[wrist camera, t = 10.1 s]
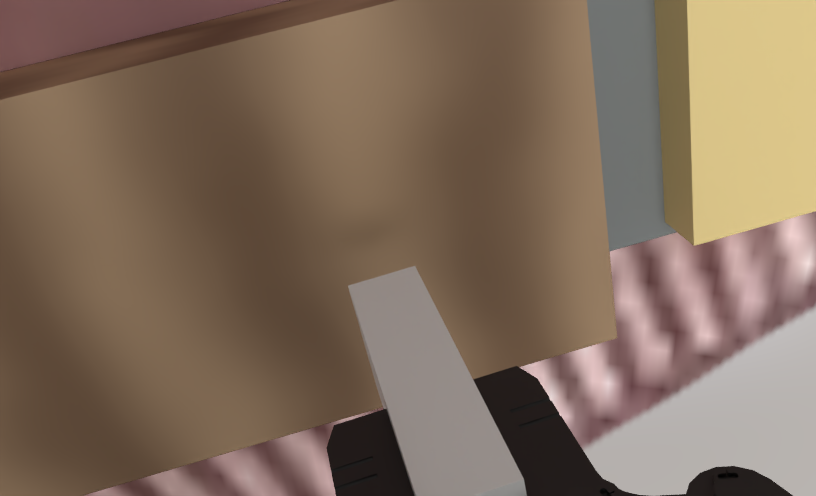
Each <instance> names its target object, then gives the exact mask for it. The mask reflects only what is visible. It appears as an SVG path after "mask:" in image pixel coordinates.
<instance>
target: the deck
mask: <svg viewBox="0 0 816 496" xmlns="http://www.w3.org/2000/svg"><path fill="white" fill-rule="evenodd" d="M413 266H415V267H416V269H417V271H418V273H419V275H420V277H421V279H422V281H423V282H424V284H425V286H426V288H427V290H428V292H429V294H430V296H431V298H432V300H433V302H434V304H435V306H436V308H437V310H438V312H439V314H440V316H441V318H442V320H443V322H444V324H445V326H446V328H447V330H448V331H449V333H450V335H451V337H452V339H453V341H454V343H455V345H456V347H457V349H458V351H459V353H460V355H461V357H462V359H463V361H464V363H465V365H466V367H467V369H468V371H469V373H470V375H471V377H472V379H476V378H479V377H482V376H486V375H489V374H492V373H495V372H498V371H501V370H505V369H508V368H511V367H514V366H518V367H521V366H524V365H527V364H531V363H534V362H538V361H541V360H544V359H548V358H551V357H555V356H558V355H561V354H565V353H568V352H572V351H575V350H578V349H582V348H585V347H588V346H592V345H595V344H599V343H602V342H605V341H609V340H612V339H616V338H617V330H616V319H615V308H614V297H613V286H612V275H611V264H610V253H609V241H608V230H607V219H606V208H605V197H604V186H603V175H602V164H601V153H600V142H599V130H598V119H597V108H596V97H595V86H594V75H593V64H592V53H591V42H590V31H589V19H588V8H587V0H290V1H286V2H282V3H278V4H274V5H270V6H266V7H262V8H258V9H254V10H250V11H246V12H242V13H238V14H233V15H229V16H225V17H221V18H217V19H213V20H209V21H205V22H201V23H197V24H193V25H189V26H185V27H181V28H177V29H173V30H169V31H165V32H161V33H157V34H153V35H149V36H145V37H141V38H137V39H133V40H129V41H125V42H121V43H117V44H113V45H109V46H105V47H101V48H97V49H93V50H89V51H84V52H80V53H76V54H72V55H68V56H64V57H60V58H56V59H52V60H48V61H44V62H40V63H36V64H32V65H28V66H24V67H20V68H16V69H12V70H8V71H4V72H0V496H83V495H86V494H90V493H93V492H96V491H100V490H103V489H106V488H110V487H113V486H117V485H120V484H123V483H127V482H130V481H134V480H137V479H140V478H144V477H147V476H151V475H154V474H157V473H161V472H164V471H168V470H171V469H174V468H178V467H181V466H185V465H188V464H191V463H195V462H198V461H202V460H205V459H208V458H212V457H215V456H218V455H222V454H225V453H229V452H232V451H235V450H239V449H242V448H246V447H249V446H252V445H256V444H259V443H263V442H266V441H269V440H273V439H276V438H280V437H283V436H286V435H290V434H293V433H297V432H300V431H303V430H307V429H310V428H314V427H317V426H320V425H324V424H327V423H331V422H334V421H337V420H341V419H344V418H347V417H351V416H354V415H358V414H361V413H364V412H368V411H371V410H375V409H378V408H381V407H383V405H382V402H381V399H380V396H379V392H378V389H377V386H376V383H375V379H374V376H373V372H372V369H371V365H370V362H369V358H368V355H367V351H366V348H365V344H364V341H363V337H362V334H361V330H360V327H359V323H358V320H357V316H356V313H355V309H354V306H353V302H352V299H351V295H350V292H349V288H348V286H349V285H352V284H355V283H359V282H362V281H365V280H369V279H372V278H376V277H379V276H382V275H386V274H389V273H392V272H396V271H399V270H402V269H406V268H409V267H413Z"/></svg>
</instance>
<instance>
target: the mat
mask: <svg viewBox="0 0 816 496" xmlns="http://www.w3.org/2000/svg"><path fill="white" fill-rule="evenodd" d="M587 8H588V19H589V31H590V42H591V53H592V64H593V75H594V86H595V97H596V108H597V119H598V130H599V142H600V153H601V164H602V175H603V186H604V197H605V208H606V219H607V230H608V241H609V251H612V250H616V249H619V248H623V247H626V246H630V245H633V244H637V243H640V242H644V241H647V240H651V239H654V238H658V237H661V236H665V235H668V234H672V233H675V232H677V231H675V230H674V229H673V228H672V227H671V226H669V225H668V224H667V223H666V222H665V212H664V191H663V171H662V150H661V129H660V108H659V87H658V66H657V45H656V24H655V4H654V0H587Z"/></svg>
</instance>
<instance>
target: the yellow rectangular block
mask: <svg viewBox="0 0 816 496" xmlns="http://www.w3.org/2000/svg"><path fill="white" fill-rule="evenodd" d="M654 4H655V24H656V45H657V66H658V87H659V108H660V129H661V150H662V171H663V191H664V212H665V222H666V223H667V224H668V225H669V226H671V227H672V228H673V229H674V230H675V231H677V232H678V233H679V234H680V235H681V236H683V237H684V238H685V239H686V240H688V241H689V242H690V243H691V244H692V245H694V246H695V245H699V244H702V243H706V242H709V241H713V240H716V239H720V238H723V237H727V236H730V235H734V234H737V233H741V232H744V231H748V230H751V229H755V228H758V227H762V226H765V225H769V224H772V223H776V222H779V221H783V220H786V219H790V218H793V217H797V216H800V215H804V214H807V213H811V212H814V211H816V0H654Z"/></svg>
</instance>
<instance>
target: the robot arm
mask: <svg viewBox="0 0 816 496" xmlns="http://www.w3.org/2000/svg"><path fill="white" fill-rule="evenodd" d="M348 288H349V292H350V295H351V299H352V302H353V306H354V309H355V313H356V316H357V320H358V323H359V327H360V330H361V334H362V337H363V341H364V344H365V348H366V351H367V355H368V358H369V362H370V365H371V369H372V372H373V376H374V379H375V383H376V386H377V389H378V392H379V396H380V399H381V402H382V405H383V408H384V410H381V411H378V412H375V413H372V414H368V415H365V416H362V417H359V418H356V419H353V420H349V421H346V422H343V423H340V424H337V425H334V427H333V430H332V433H331V436H330V439H329V442H328V445H327V452H328V457H329V462H330V467H331V471H332V477H333V482H334V487H335V491H336V496H646V495H637V494H632V493H628V492H624V491H622V490H620V489H618V488H617V487H616V486H615V485H614V484H613V483H610V482H608V481H606V480H604V479H602V477H601V476H600V475H599V474H598V473H597V471H596V470H595V469H594V467H593V465H592V464H591V462H590V461H589V459H588V458H587V456H586V455H585V453H584V451H583V450H582V448H581V447H580V445H579V444H578V442H577V440H576V439H575V437H574V436H573V434H572V433H571V431H570V429H569V428H568V426H567V425H566V423H565V422H564V420H563V418H562V417H561V416H560V415H559V412H558V411H557V409H556V407H555V406H554V404H553V403H552V401H550V399H549V396H548V395H547V393H546V392H545V390H544V389H543V387H542V385H541V384H540V382H539V381H538V379H537V378H535V377H534V376H532V375H530V374H529V373H527V372H526V371H524V370H522V369H521V368H519V367H518V366H514V367H511V368H508V369H505V370H501V371H498V372H495V373H492V374H489V375H486V376H482V377H479V378H476V379H472V377H471V375H470V373H469V371H468V369H467V367H466V365H465V363H464V361H463V359H462V357H461V355H460V353H459V351H458V349H457V347H456V345H455V343H454V341H453V339H452V337H451V335H450V333H449V331H448V330H447V328H446V326H445V324H444V322H443V320H442V318H441V316H440V314H439V312H438V310H437V308H436V306H435V304H434V302H433V300H432V298H431V296H430V294H429V292H428V290H427V288H426V286H425V284H424V282H423V281H422V279H421V277H420V275H419V273H418V271H417V269H416V267H415V266H413V267H409V268H406V269H402V270H399V271H396V272H392V273H389V274H386V275H382V276H379V277H376V278H372V279H369V280H365V281H362V282H359V283H355V284H352V285H349V286H348ZM662 496H792V495H791V494H790V493H788V492H787V491H786V490H784V489H783V488H782V487H780V486H779V485H777V484H776V483H775V482H773V481H772V480H771V479H769V478H767V477H765V476H763V475H761V474H759V473H757V472H755V471H753V470H749V469H745V468H740V467H735V466H730V467H729V466H728V467H715V468H712V469H710V470H707V471H704V472H702V473H700V474H699V475H698V476H697V477H696V478H695V479H693V480H692V481H691V482H690V483H689V486H688V490H687V493H686V494H682V495H662Z"/></svg>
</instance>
